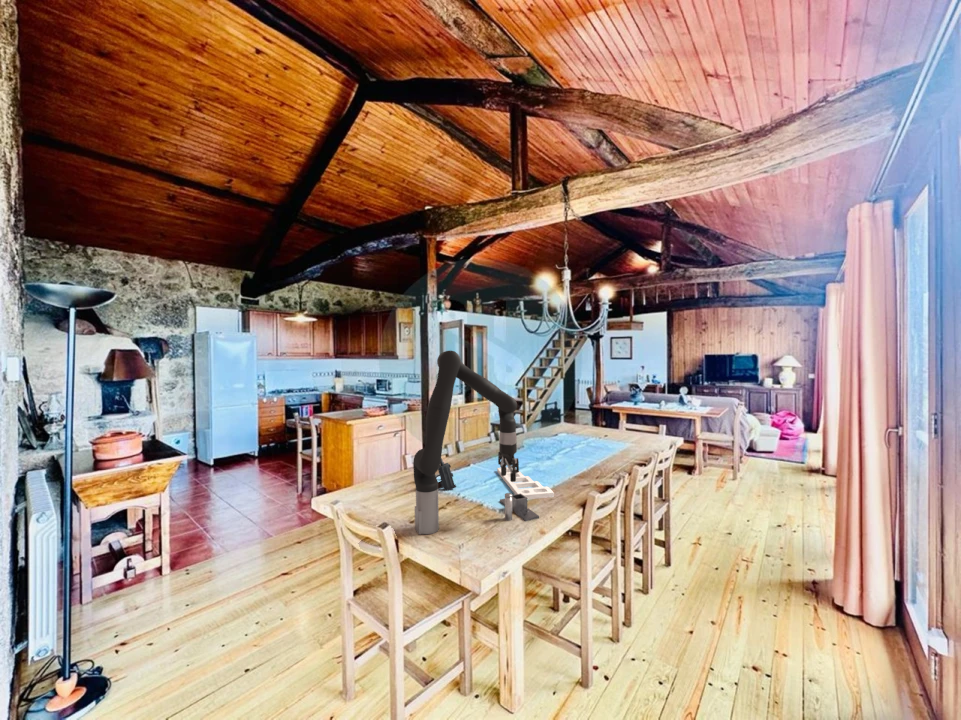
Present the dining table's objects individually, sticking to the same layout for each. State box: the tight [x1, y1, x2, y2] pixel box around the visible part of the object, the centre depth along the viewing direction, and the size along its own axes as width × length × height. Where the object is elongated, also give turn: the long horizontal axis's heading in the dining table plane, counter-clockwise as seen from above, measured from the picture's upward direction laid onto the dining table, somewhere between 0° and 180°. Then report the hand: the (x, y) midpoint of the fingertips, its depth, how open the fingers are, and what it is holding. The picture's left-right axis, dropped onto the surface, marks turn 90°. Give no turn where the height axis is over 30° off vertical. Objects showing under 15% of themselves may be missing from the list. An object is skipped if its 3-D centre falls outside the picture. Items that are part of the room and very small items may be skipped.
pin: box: [504, 492, 513, 522], centre depth 178 cm, size 3×3×11 cm
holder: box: [496, 466, 555, 500], centre depth 223 cm, size 45×18×3 cm, turn 12°
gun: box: [435, 457, 457, 492], centre depth 213 cm, size 3×17×15 cm
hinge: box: [499, 494, 540, 522], centre depth 188 cm, size 7×24×6 cm, turn 25°
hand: (508, 478), depth 177 cm, fingers open, 8 cm apart
